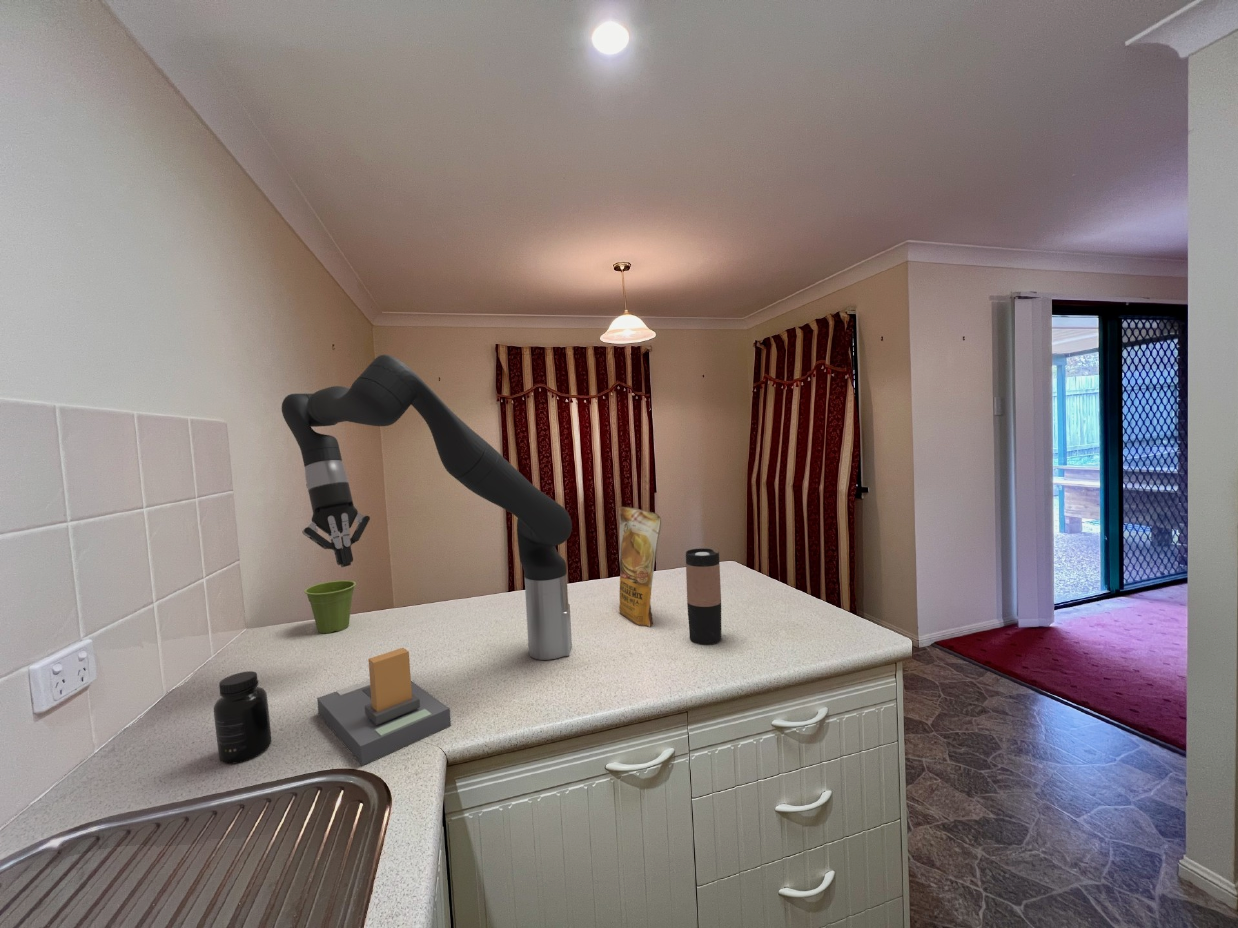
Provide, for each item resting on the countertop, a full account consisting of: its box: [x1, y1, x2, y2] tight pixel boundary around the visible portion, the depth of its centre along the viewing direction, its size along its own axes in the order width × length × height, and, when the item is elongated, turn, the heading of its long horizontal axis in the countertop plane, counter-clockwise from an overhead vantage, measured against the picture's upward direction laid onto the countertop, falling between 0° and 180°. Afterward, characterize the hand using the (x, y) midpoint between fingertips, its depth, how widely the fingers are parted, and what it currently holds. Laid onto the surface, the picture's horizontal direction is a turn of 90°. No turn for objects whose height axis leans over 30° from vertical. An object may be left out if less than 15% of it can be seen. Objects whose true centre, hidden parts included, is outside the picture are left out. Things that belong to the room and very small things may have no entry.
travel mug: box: [685, 547, 722, 646], centre depth 117 cm, size 8×8×20 cm
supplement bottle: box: [213, 670, 272, 765], centre depth 81 cm, size 7×7×12 cm
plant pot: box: [303, 579, 357, 634], centre depth 136 cm, size 12×12×11 cm
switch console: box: [316, 678, 452, 767], centre depth 89 cm, size 22×14×3 cm, turn 45°
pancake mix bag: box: [618, 506, 662, 627], centre depth 133 cm, size 7×19×28 cm, turn 25°
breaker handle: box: [365, 647, 420, 725], centre depth 85 cm, size 5×7×9 cm
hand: (346, 566), depth 107 cm, fingers closed
